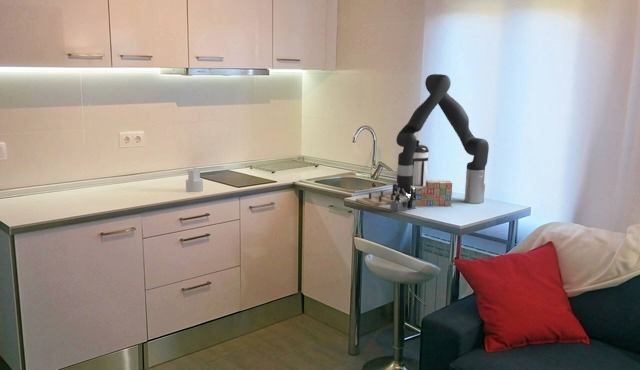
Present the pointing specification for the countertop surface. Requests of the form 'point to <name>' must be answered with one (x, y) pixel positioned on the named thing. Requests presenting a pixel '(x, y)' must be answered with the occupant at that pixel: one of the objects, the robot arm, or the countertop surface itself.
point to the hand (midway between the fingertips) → (403, 206)
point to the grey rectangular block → (402, 205)
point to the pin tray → (377, 199)
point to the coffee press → (420, 165)
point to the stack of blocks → (434, 193)
